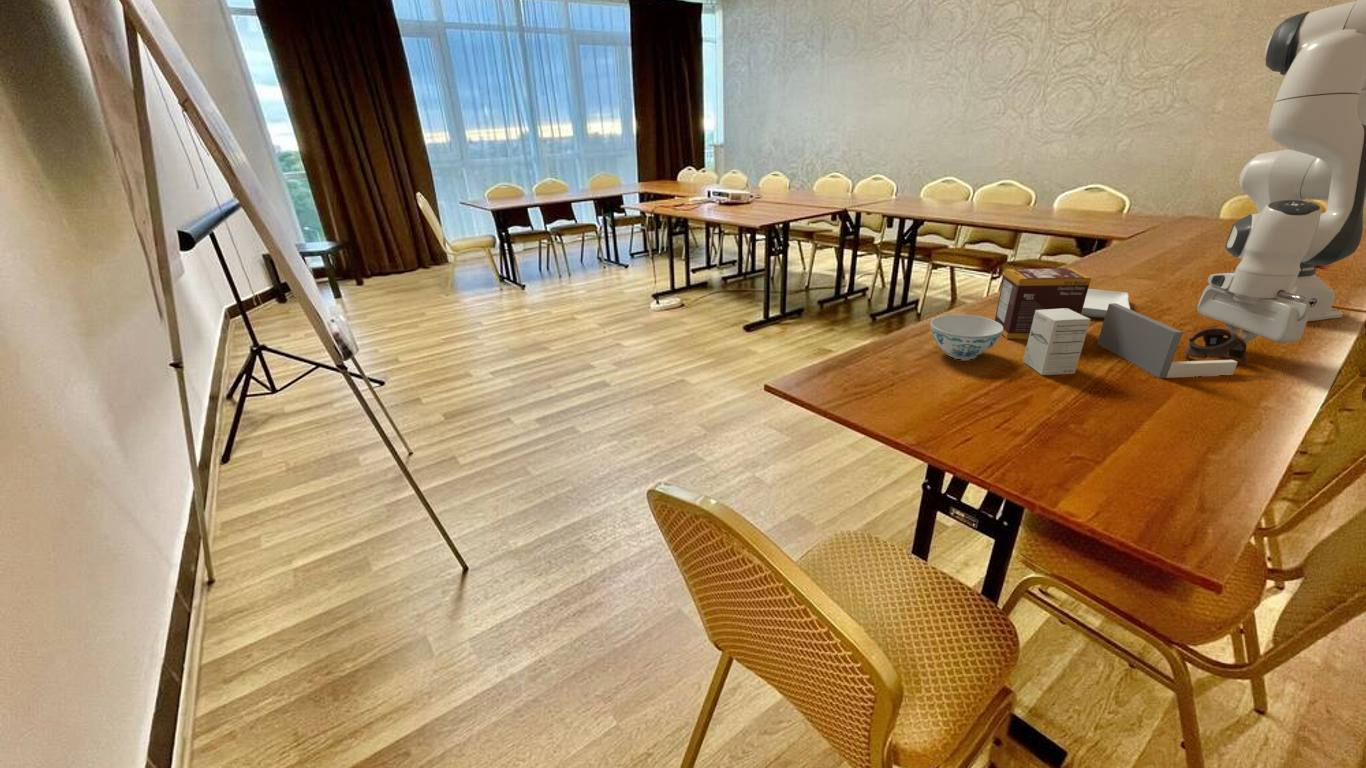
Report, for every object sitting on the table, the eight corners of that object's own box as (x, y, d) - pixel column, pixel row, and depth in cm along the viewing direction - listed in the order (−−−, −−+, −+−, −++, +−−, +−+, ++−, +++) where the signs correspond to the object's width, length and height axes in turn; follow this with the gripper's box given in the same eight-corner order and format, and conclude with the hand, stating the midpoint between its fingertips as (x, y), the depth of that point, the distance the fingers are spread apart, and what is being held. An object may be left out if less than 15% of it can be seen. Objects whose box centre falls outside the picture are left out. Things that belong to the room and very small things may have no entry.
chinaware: (1004, 351, 124) (1011, 321, 121) (985, 373, 114) (992, 340, 111) (939, 339, 134) (943, 310, 130) (916, 358, 124) (920, 328, 121)
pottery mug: (1257, 373, 107) (1250, 342, 104) (1194, 384, 113) (1186, 355, 110) (1238, 339, 115) (1231, 310, 112) (1181, 351, 121) (1173, 324, 118)
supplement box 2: (1021, 362, 118) (1033, 309, 113) (1055, 360, 118) (1069, 307, 112) (1040, 375, 111) (1054, 320, 106) (1076, 374, 111) (1092, 318, 106)
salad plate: (1038, 294, 161) (1040, 284, 160) (1125, 302, 150) (1128, 291, 148) (1031, 314, 146) (1034, 303, 145) (1127, 325, 135) (1132, 312, 133)
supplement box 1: (1075, 339, 127) (1092, 277, 121) (1006, 339, 131) (1019, 278, 124) (1057, 325, 137) (1072, 267, 130) (992, 325, 140) (1004, 268, 133)
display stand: (1159, 341, 123) (1173, 300, 119) (1232, 375, 106) (1252, 329, 101) (1097, 343, 124) (1109, 303, 120) (1158, 377, 107) (1175, 332, 103)
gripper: (1331, 298, 97) (1298, 365, 103) (1233, 272, 115) (1210, 330, 121) (1294, 299, 98) (1264, 366, 104) (1202, 273, 116) (1181, 331, 122)
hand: (1234, 347), depth 113 cm, fingers closed
